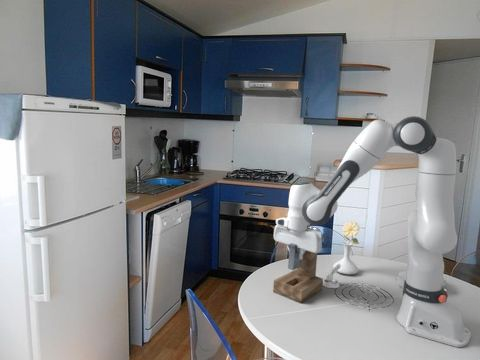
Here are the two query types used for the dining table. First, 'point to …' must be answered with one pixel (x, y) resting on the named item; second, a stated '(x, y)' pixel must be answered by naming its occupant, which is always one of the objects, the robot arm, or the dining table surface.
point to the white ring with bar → (331, 278)
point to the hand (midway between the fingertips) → (295, 257)
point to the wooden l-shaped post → (300, 280)
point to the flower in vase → (348, 249)
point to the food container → (403, 277)
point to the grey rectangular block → (294, 257)
